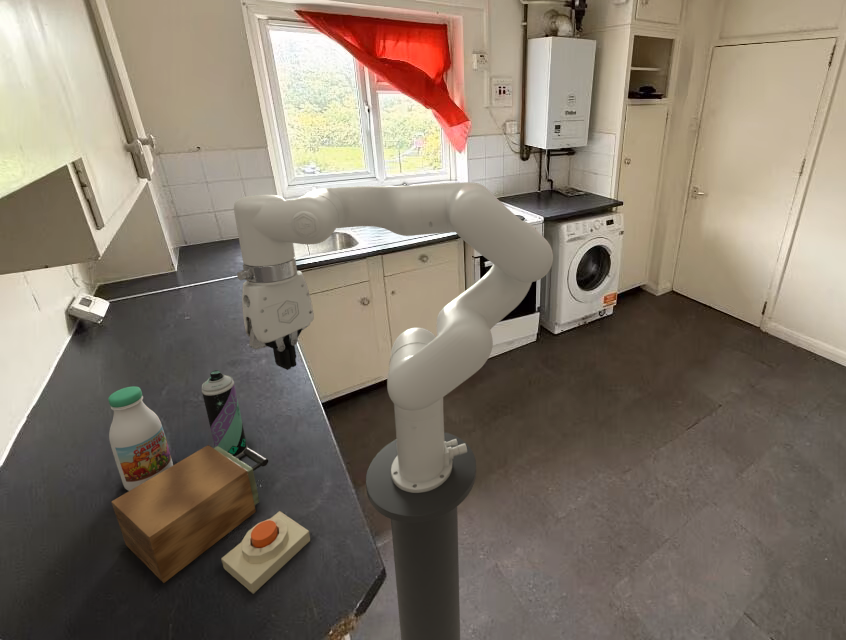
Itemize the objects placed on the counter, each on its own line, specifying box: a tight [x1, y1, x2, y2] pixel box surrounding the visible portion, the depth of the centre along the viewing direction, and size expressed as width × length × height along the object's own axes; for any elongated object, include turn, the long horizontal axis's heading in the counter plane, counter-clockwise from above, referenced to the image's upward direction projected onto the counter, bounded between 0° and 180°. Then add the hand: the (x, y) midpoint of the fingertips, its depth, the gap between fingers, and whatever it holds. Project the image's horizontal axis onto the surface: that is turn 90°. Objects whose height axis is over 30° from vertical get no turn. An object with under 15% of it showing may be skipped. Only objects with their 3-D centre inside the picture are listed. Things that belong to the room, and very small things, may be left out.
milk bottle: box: [107, 385, 174, 492], centre depth 82 cm, size 8×8×20 cm
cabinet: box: [111, 444, 257, 584], centre depth 73 cm, size 15×13×10 cm
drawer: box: [213, 446, 269, 506], centre depth 76 cm, size 18×11×8 cm, turn 151°
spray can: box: [201, 369, 248, 458], centre depth 89 cm, size 6×6×20 cm
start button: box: [251, 519, 278, 548], centre depth 69 cm, size 4×4×2 cm
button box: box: [221, 510, 311, 595], centre depth 70 cm, size 10×8×4 cm
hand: (286, 365), depth 76 cm, fingers closed
